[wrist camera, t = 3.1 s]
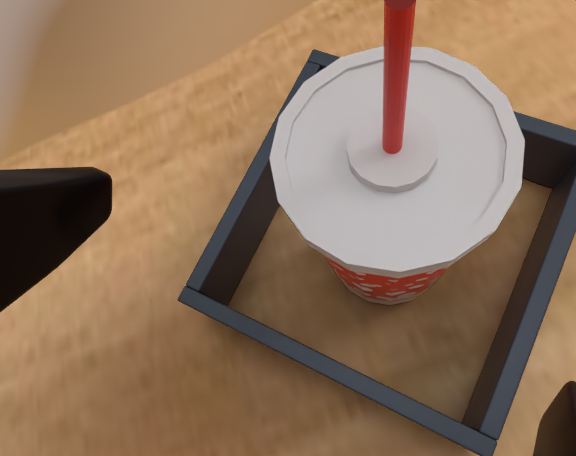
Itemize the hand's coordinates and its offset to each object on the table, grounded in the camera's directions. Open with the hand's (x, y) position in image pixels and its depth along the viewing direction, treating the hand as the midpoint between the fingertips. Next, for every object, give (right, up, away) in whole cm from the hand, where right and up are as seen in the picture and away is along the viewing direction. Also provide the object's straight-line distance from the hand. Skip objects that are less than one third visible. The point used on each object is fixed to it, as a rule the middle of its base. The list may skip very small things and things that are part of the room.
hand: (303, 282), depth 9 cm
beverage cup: (+4, 0, +12) cm, 12 cm away
